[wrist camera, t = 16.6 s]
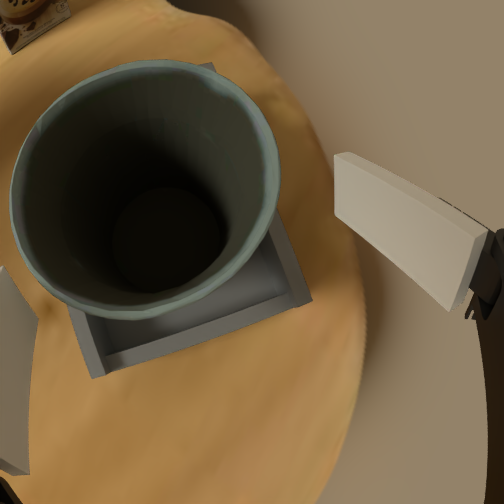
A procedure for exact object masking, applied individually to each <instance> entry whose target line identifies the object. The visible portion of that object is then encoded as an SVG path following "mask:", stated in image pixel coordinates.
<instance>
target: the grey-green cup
mask: <svg viewBox="0 0 504 504" xmlns="http://www.w3.org/2000/svg"><path fill="white" fill-rule="evenodd" d="M280 185H281V166H280V157H279V151H278V146H277V143H276V140H275V137H274V134H273V132H272V130H271V128H270V126H269V124H268V122H267V120H266V117H265V116H264V114H263V113H262V111H261V110H260V108H259V107H258V106H257V105H256V103H255V102H254V101H253V100H252V99H251V98H250V97H249V96H248V95H247V94H246V93H245V92H244V91H243V90H242V89H241V88H240V87H239V86H237V85H236V84H234V83H233V82H232V81H230V80H229V79H227V78H226V77H224V76H222V75H220V74H218V73H216V72H214V71H212V70H210V69H207V68H204V67H201V66H198V65H195V64H192V63H187V62H180V61H174V60H167V59H165V60H141V61H135V62H130V63H126V64H122V65H118V66H116V67H114V68H111V69H108V70H106V71H103V72H100V73H98V74H96V75H93V76H91V77H89V78H87V79H85V80H83V81H81V82H80V83H78V84H76V85H75V86H73V87H72V88H70V89H69V90H67V91H66V92H65V93H64V94H62V95H61V96H60V97H59V98H58V99H56V100H55V101H54V102H53V103H52V105H51V106H50V107H49V108H48V109H47V110H46V111H45V112H44V113H43V114H42V115H41V117H40V118H39V119H38V120H37V122H36V123H35V125H34V126H33V128H32V129H31V131H30V132H29V134H28V135H27V137H26V139H25V141H24V143H23V145H22V147H21V149H20V151H19V154H18V157H17V160H16V163H15V166H14V169H13V174H12V179H11V185H10V195H9V213H10V220H11V227H12V231H13V234H14V238H15V241H16V244H17V247H18V250H19V252H20V254H21V256H22V258H23V260H24V262H25V263H26V265H27V267H28V269H29V270H30V271H31V273H32V274H33V275H34V277H35V278H36V279H37V280H38V282H39V283H40V284H41V285H42V286H43V287H44V288H45V289H46V290H47V291H48V292H50V293H51V294H52V295H53V296H55V297H56V298H58V299H59V300H61V301H62V302H64V303H66V304H67V305H69V306H71V307H73V308H76V309H78V310H80V311H83V312H85V313H88V314H90V315H94V316H99V317H104V318H109V319H117V320H141V319H148V318H153V317H158V316H162V315H166V314H168V313H171V312H173V311H176V310H178V309H181V308H184V307H186V306H189V305H191V304H193V303H195V302H197V301H199V300H201V299H203V298H205V297H207V296H208V295H210V294H211V293H212V292H214V291H215V290H217V289H218V288H219V287H221V286H222V285H224V284H225V283H226V282H227V281H228V280H229V279H230V278H232V277H233V276H234V275H235V274H236V273H237V272H238V271H239V270H240V268H241V267H242V266H243V265H244V264H245V263H246V262H247V261H248V259H249V258H250V257H251V255H252V254H253V252H254V251H255V250H256V248H257V247H258V245H259V244H260V243H261V241H262V240H263V238H264V237H265V235H266V233H267V230H268V228H269V226H270V224H271V222H272V220H273V216H274V213H275V209H276V206H277V202H278V199H279V193H280Z"/></svg>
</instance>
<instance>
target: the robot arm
mask: <svg viewBox="0 0 504 504" xmlns="http://www.w3.org/2000/svg"><path fill="white" fill-rule="evenodd" d="M334 195H335V216H336V217H338V218H339V219H340V220H341V221H343V222H344V223H345V224H347V225H348V226H349V227H350V228H352V229H353V230H354V231H355V232H357V233H358V234H359V235H360V236H362V237H363V238H364V239H365V240H366V241H368V242H369V243H370V244H371V245H373V246H374V247H375V248H376V249H377V250H379V251H380V252H381V253H382V254H383V255H385V256H386V257H387V258H388V259H389V260H391V261H392V262H393V263H394V264H395V265H396V266H398V267H399V268H400V269H401V270H402V271H404V272H405V273H406V274H407V275H408V276H409V277H410V278H411V279H413V280H414V281H415V282H416V283H417V284H418V285H419V286H421V287H422V288H423V289H424V290H425V291H426V292H427V293H428V294H429V295H430V296H432V297H433V298H434V299H435V300H436V301H437V302H438V303H439V304H440V305H441V306H442V307H443V308H445V309H446V310H447V311H448V312H451V311H452V310H453V309H455V308H456V307H457V306H459V305H460V304H461V303H462V302H463V301H464V298H465V296H466V293H467V291H468V288H470V289H471V290H472V291H473V292H474V294H473V297H472V299H471V301H470V304H469V306H468V308H467V311H466V313H465V319H468V317H469V315H470V313H471V311H472V310H474V314H473V316H472V319H473V320H476V324H477V330H478V335H479V341H480V348H481V354H482V362H483V368H484V378H485V388H486V402H487V421H488V460H487V480H486V492H485V500H484V504H504V229H499V230H497V232H496V233H494V232H493V231H491V230H490V229H488V228H487V227H485V226H484V225H482V224H481V223H479V222H478V221H476V220H475V219H473V218H472V217H470V216H468V215H467V214H465V213H464V212H463V213H462V212H461V210H459V209H457V208H456V207H452V205H451V204H449V203H448V202H446V201H444V200H442V199H441V198H438V197H436V196H434V195H432V194H430V193H429V192H427V191H425V190H424V189H422V188H420V187H418V186H416V185H415V184H413V183H411V182H409V181H407V180H406V179H404V178H402V177H400V176H398V175H396V174H394V173H392V172H390V171H388V170H386V169H384V168H383V167H381V166H379V165H377V164H375V163H372V162H371V161H368V160H367V159H364V158H362V157H360V156H358V155H356V154H354V153H352V152H349V151H348V152H343V153H339V154H335V155H334ZM37 325H38V317H37V316H36V314H35V313H34V312H33V310H32V309H31V307H30V306H29V304H28V303H27V302H26V300H25V299H24V297H23V296H22V294H21V293H20V291H19V289H18V288H17V286H16V285H15V283H14V282H13V280H12V278H11V277H10V275H9V274H8V272H7V270H6V269H5V267H4V265H3V266H1V267H0V469H1V470H3V471H5V472H7V473H9V474H10V475H12V476H16V475H30V470H29V449H28V417H29V394H30V381H31V370H32V361H33V352H34V345H35V338H36V331H37ZM0 504H23V503H22V502H21V501H20V499H19V498H18V497H17V495H16V494H15V493H14V491H13V490H12V488H11V487H10V485H9V484H8V482H7V481H6V480H5V479H4V478H2V477H0Z"/></svg>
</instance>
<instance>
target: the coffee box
mask: <svg viewBox="0 0 504 504" xmlns="http://www.w3.org/2000/svg"><path fill="white" fill-rule="evenodd" d="M70 16H71V13H70V9H69V6H68V2H67V0H0V35H1V37H2V39H3V41H4V43H5V45H6V47H7V49H8V51H9V52H10V54H11V55H12V54H14V53H15V52H17V51H18V50H19V49H21V48H22V47H23V46H25V45H26V44H28V43H29V42H31V41H32V40H33V39H35V38H36V37H38V36H39V35H41V34H42V33H44V32H46V31H47V30H49V29H50V28H52V27H54V26H55V25H57V24H58V23H60V22H62V21H64V20H65V19H67V18H69V17H70Z"/></svg>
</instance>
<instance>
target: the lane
mask: <svg viewBox="0 0 504 504" xmlns="http://www.w3.org/2000/svg"><path fill="white" fill-rule="evenodd" d="M198 66H201V67H204V68H207V69H210V70H212V71H214V72H216V70H215V68H214V66H213V63H212V62H211V63H205V64H200V65H198ZM40 117H41V116H39V118H40ZM312 301H313V300H312V297H311V295H310V292H309V289H308V287H307V284H306V281H305V279H304V276H303V274H302V271H301V268H300V266H299V263H298V261H297V258H296V255H295V253H294V250H293V248H292V245H291V243H290V240H289V238H288V235H287V233H286V230H285V228H284V225H283V223H282V220H281V218H280V215H279V213H278V210H277V208H276V209H275V213H274V216H273V220H272V222H271V224H270V226H269V228H268V230H267V233H266V235H265V237H264V238H263V240H262V241H261V243H260V244H259V245H258V247H257V248H256V250H255V251H254V252H253V254H252V255H251V257H250V258H249V259H248V261H247V262H246V263H245V264H244V265H243V266H242V267H241V268H240V270H239V271H238V272H237V273H236V274H235V275H234V276H233V277H232V278H230V279H229V280H228V281H227V282H226V283H225V284H224V285H222V286H221V287H219V288H218V289H217V290H215V291H214V292H212V293H211V294H210V295H208V296H207V297H205V298H203V299H201V300H199V301H197V302H195V303H193V304H191V305H189V306H186V307H184V308H181V309H178V310H176V311H173V312H171V313H168V314H166V315H162V316H158V317H153V318H148V319H141V320H117V319H109V318H104V317H99V316H94V315H90V314H88V313H85V312H83V311H80V310H78V309H76V308H73V307H71V306H69V305H67V307H68V311H69V314H70V317H71V321H72V324H73V327H74V330H75V334H76V337H77V340H78V343H79V346H80V349H81V351H82V354H83V357H84V360H85V363H86V365H87V368H88V371H89V373H90V376H91V378H92V379H94V378H97V377H101V376H104V375H107V374H108V373H110V372H113V371H116V370H119V369H123V368H126V367H129V366H133V365H136V364H139V363H142V362H145V361H148V360H151V359H155V358H158V357H161V356H164V355H167V354H170V353H173V352H176V351H179V350H182V349H185V348H187V347H190V346H193V345H196V344H199V343H202V342H205V341H207V340H210V339H213V338H216V337H219V336H221V335H224V334H227V333H229V332H232V331H235V330H237V329H240V328H243V327H245V326H248V325H251V324H253V323H256V322H258V321H261V320H264V319H266V318H269V317H271V316H274V315H276V314H279V313H281V312H284V311H286V310H289V309H291V308H295V307H300V306H302V305H305V304H307V303H309V302H312Z"/></svg>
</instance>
